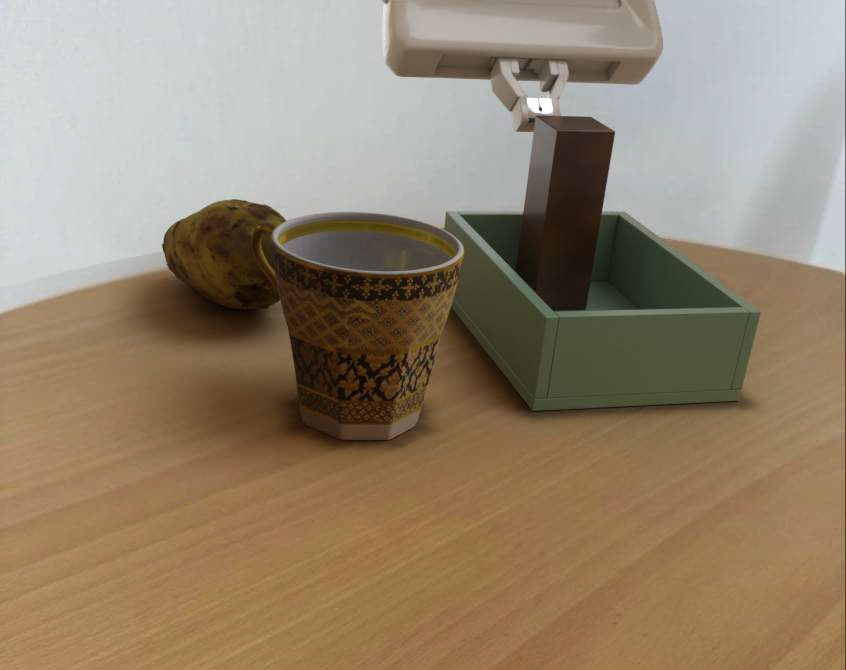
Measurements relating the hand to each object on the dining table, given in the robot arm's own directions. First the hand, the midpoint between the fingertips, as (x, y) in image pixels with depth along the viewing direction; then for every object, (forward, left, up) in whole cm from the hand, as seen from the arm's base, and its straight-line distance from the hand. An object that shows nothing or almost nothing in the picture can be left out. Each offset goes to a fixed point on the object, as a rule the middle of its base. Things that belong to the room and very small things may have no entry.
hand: (538, 128), depth 80 cm
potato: (+22, +5, -11) cm, 25 cm away
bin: (0, +12, -11) cm, 16 cm away
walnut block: (0, +6, -10) cm, 12 cm away
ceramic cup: (+18, +20, -11) cm, 29 cm away
